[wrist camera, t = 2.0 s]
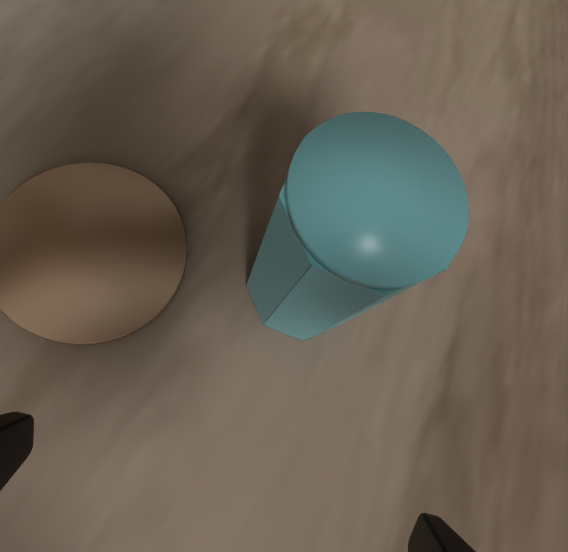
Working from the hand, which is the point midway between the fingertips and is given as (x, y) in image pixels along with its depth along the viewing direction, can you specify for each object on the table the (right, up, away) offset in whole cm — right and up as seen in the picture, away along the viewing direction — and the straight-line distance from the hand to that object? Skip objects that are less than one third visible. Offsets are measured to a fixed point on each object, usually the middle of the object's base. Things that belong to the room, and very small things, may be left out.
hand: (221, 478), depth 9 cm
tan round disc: (-9, +6, +13) cm, 17 cm away
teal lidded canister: (+2, +4, +15) cm, 15 cm away
